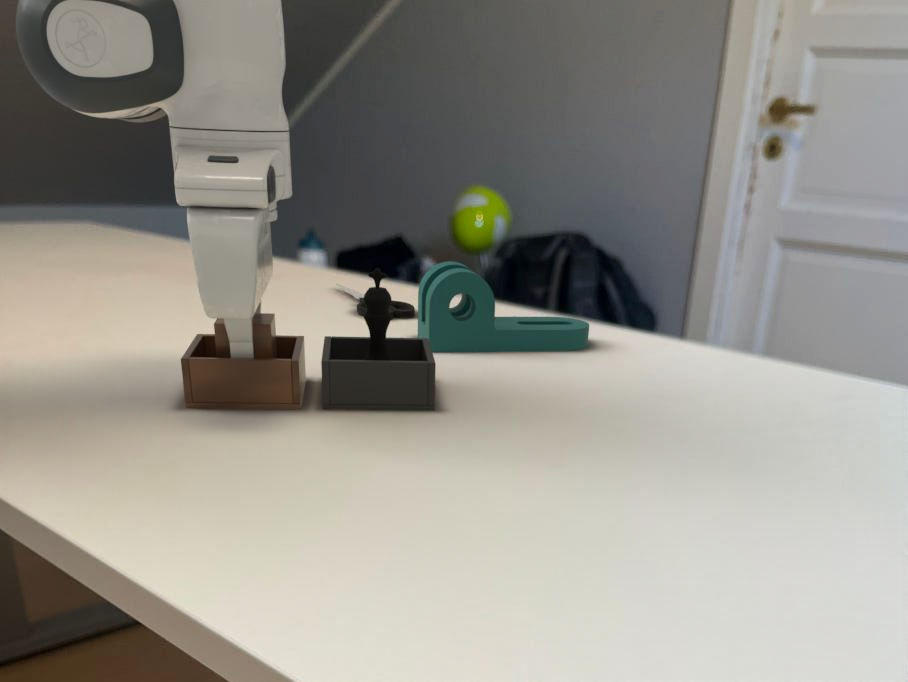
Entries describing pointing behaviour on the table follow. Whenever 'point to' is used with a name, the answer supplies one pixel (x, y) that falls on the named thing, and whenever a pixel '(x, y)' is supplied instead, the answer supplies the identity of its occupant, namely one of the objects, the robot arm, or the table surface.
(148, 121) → the robot arm
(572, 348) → the bracket
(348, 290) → the scissors
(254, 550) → the table surface
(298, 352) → the brown bin
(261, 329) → the walnut block
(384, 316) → the chess piece
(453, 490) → the table surface
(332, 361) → the black bin
